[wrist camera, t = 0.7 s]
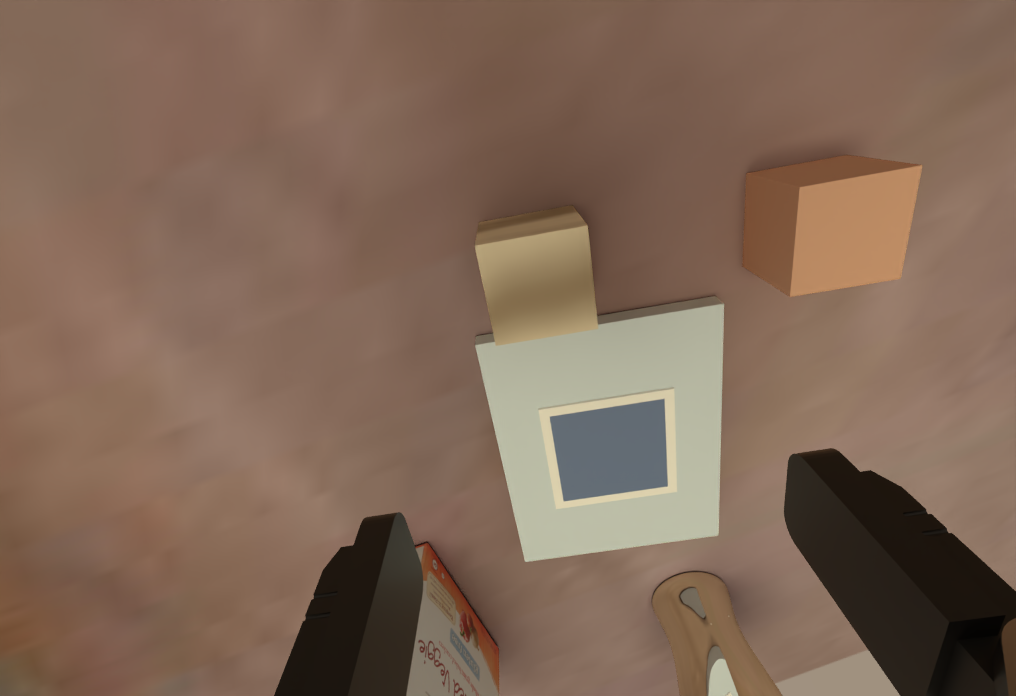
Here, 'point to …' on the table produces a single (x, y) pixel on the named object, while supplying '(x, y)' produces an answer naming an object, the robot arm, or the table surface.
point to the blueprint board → (611, 429)
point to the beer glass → (708, 639)
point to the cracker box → (450, 640)
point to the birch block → (537, 275)
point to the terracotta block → (829, 223)
